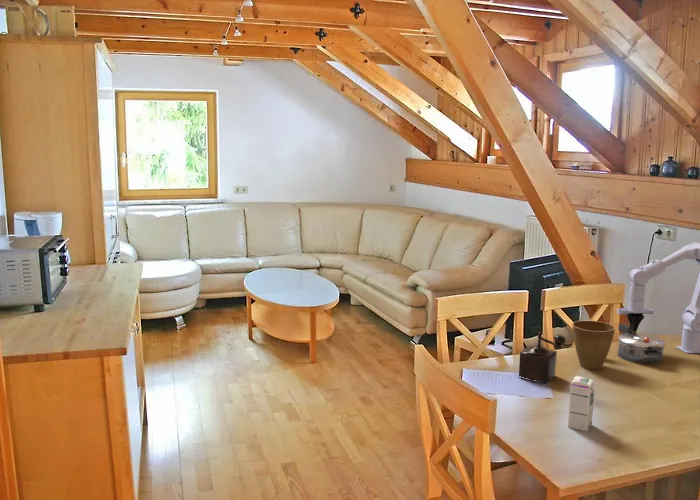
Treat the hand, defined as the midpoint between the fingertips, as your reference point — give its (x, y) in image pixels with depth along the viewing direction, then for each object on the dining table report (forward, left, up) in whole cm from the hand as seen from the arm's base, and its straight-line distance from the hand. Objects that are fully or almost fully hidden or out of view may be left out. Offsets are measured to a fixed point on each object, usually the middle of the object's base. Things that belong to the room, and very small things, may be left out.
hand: (633, 331), depth 261 cm
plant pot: (+26, +20, -8) cm, 34 cm away
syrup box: (+50, +70, -8) cm, 87 cm away
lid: (+2, +8, -1) cm, 9 cm away
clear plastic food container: (+2, +10, -7) cm, 13 cm away
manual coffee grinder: (+48, +32, -8) cm, 58 cm away
